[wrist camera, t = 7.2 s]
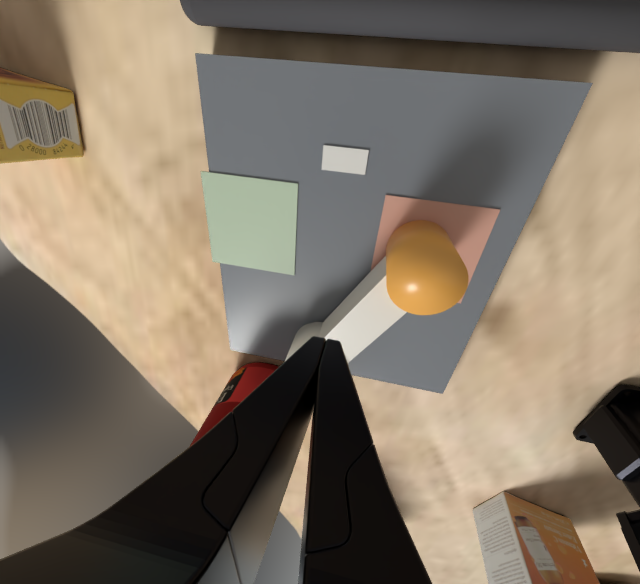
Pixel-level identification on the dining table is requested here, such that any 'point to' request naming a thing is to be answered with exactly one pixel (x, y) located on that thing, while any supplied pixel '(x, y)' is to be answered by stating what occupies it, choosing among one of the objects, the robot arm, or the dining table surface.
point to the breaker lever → (395, 289)
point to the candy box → (36, 120)
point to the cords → (440, 20)
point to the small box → (529, 544)
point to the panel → (367, 192)
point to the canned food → (236, 393)
